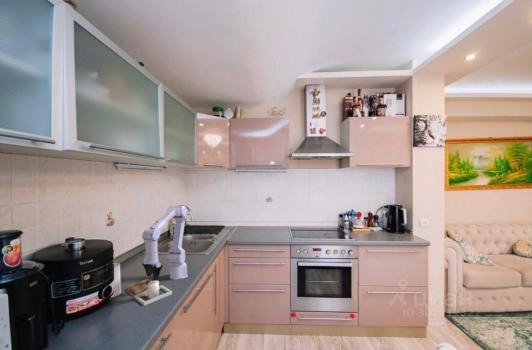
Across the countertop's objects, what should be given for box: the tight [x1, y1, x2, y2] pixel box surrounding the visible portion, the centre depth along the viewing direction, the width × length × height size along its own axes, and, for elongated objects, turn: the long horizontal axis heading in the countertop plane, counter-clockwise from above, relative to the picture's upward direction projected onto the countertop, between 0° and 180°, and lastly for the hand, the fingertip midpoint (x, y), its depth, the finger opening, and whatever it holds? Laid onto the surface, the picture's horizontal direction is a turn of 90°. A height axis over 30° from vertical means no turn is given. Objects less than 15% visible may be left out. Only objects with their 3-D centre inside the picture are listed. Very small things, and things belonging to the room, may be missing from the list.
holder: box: [123, 278, 153, 299], centre depth 130 cm, size 14×14×3 cm
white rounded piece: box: [144, 280, 160, 300], centre depth 121 cm, size 7×5×7 cm
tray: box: [134, 285, 173, 308], centre depth 122 cm, size 14×11×2 cm
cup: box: [110, 262, 122, 299], centre depth 125 cm, size 8×8×16 cm
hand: (152, 277), depth 124 cm, fingers open, 7 cm apart
